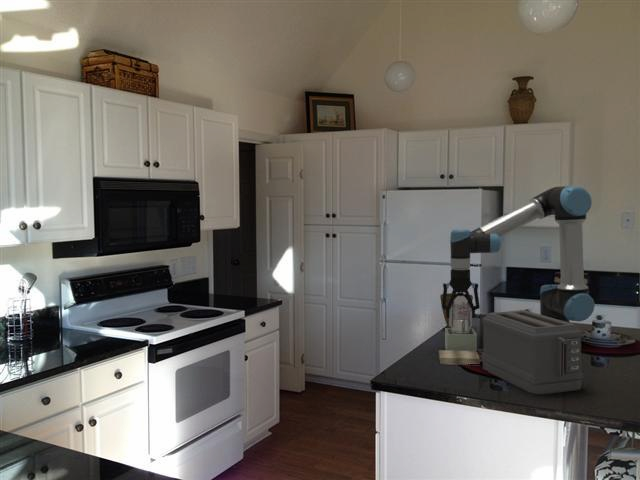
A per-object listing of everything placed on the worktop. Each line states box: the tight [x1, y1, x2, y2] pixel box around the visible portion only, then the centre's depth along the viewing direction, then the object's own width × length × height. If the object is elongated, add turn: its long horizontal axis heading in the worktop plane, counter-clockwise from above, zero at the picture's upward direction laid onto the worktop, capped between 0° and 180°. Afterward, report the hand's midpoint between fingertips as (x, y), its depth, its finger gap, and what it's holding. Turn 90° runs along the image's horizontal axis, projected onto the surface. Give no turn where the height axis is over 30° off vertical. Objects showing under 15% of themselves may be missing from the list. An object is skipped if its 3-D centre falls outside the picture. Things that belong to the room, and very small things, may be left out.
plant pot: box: [439, 292, 474, 328], centre depth 271 cm, size 15×15×16 cm
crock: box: [444, 327, 478, 352], centre depth 233 cm, size 11×11×8 cm
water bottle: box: [452, 292, 469, 334], centre depth 232 cm, size 7×7×25 cm
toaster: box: [480, 309, 584, 395], centre depth 196 cm, size 19×34×20 cm, turn 16°
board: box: [438, 349, 481, 366], centre depth 219 cm, size 14×11×2 cm
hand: (460, 326), depth 232 cm, fingers open, 7 cm apart
